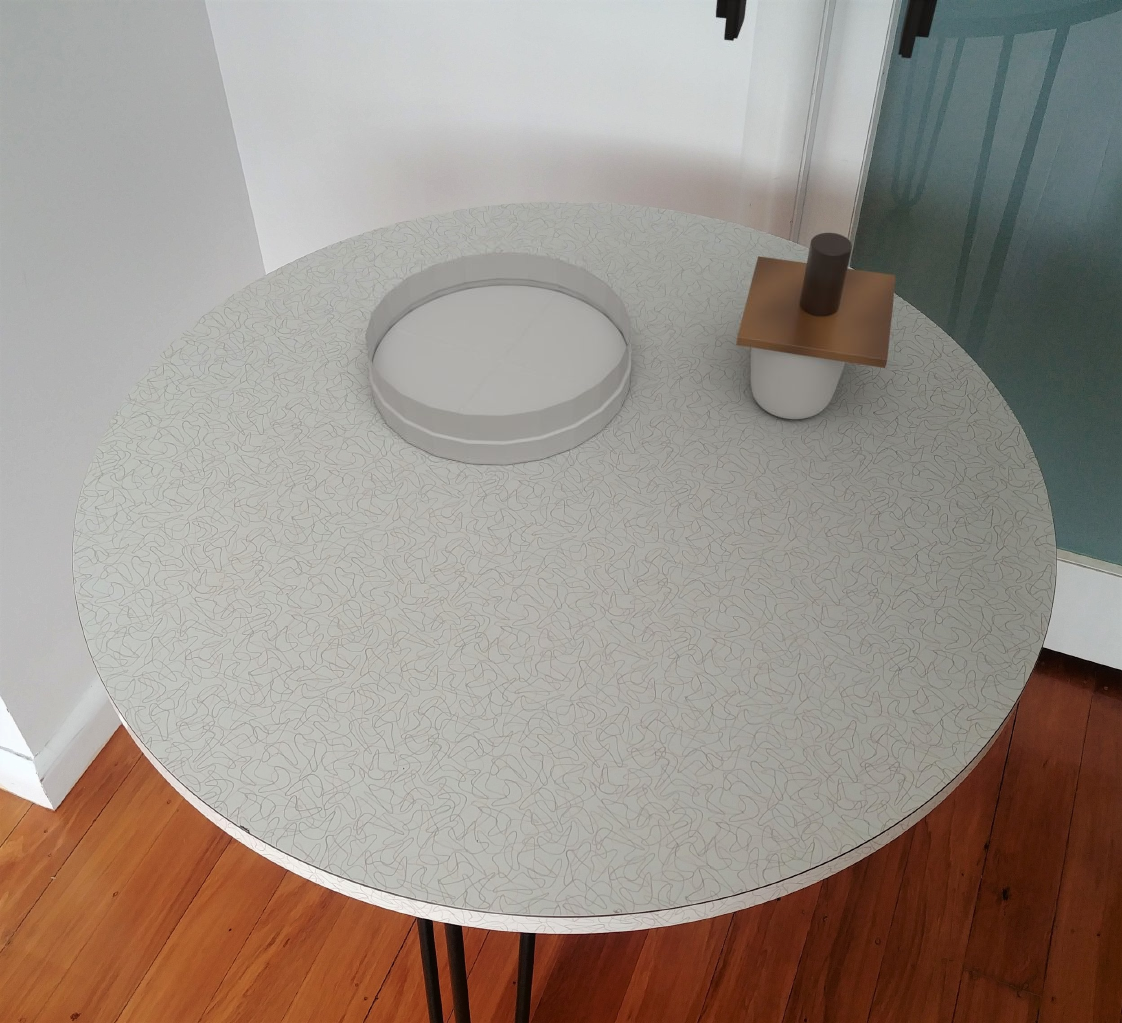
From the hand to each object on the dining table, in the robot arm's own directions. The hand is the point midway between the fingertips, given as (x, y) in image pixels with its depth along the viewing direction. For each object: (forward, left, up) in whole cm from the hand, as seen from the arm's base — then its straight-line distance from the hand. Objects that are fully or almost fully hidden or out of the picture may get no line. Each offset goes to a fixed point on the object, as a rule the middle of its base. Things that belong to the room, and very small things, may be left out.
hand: (818, 39), depth 60 cm
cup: (-3, -8, -32) cm, 34 cm away
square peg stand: (-3, -8, -24) cm, 26 cm away
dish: (+22, -4, -32) cm, 39 cm away
